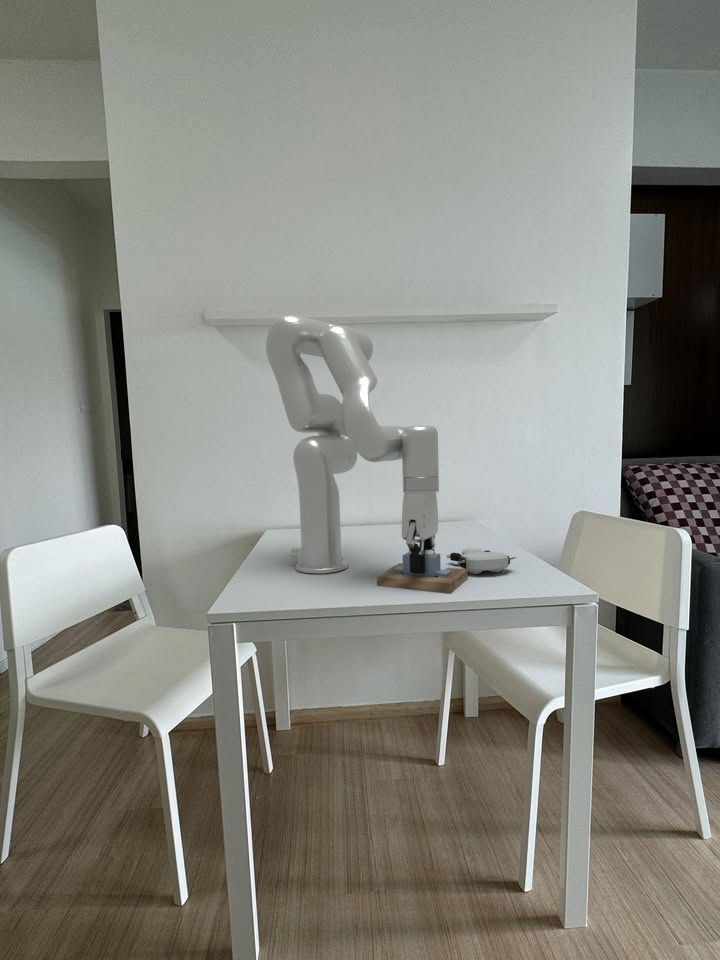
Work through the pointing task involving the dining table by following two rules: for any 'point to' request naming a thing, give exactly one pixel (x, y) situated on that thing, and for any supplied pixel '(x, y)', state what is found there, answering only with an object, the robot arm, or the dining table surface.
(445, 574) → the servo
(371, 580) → the dining table surface
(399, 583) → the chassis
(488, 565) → the robot toy
